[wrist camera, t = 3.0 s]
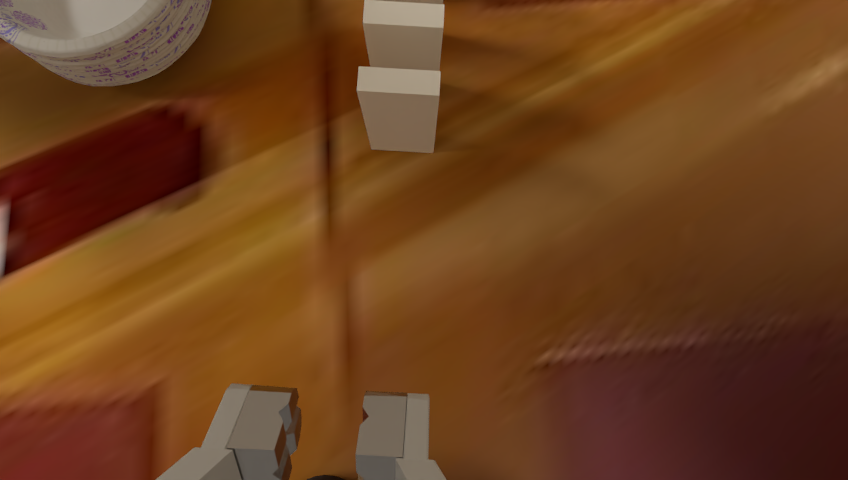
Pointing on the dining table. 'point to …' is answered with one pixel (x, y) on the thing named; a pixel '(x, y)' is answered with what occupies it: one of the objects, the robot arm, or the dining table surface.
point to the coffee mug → (325, 478)
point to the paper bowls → (103, 36)
